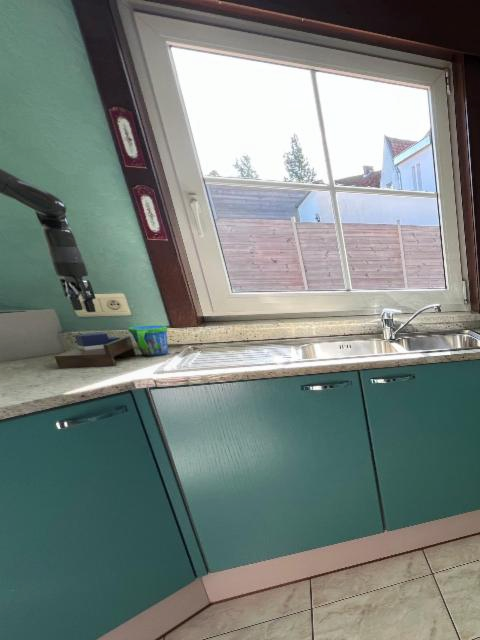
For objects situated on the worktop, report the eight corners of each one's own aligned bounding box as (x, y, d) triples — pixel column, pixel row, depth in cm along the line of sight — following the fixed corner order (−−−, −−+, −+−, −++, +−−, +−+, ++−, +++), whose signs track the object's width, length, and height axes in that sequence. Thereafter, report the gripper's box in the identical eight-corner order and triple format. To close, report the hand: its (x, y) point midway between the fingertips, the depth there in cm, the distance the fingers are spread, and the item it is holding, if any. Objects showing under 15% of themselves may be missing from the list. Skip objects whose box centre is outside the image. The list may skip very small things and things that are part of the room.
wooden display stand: (58, 368, 160) (50, 346, 157) (86, 357, 177) (79, 337, 174) (114, 365, 166) (107, 345, 163) (136, 355, 182) (130, 336, 180)
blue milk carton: (85, 350, 168) (80, 336, 167) (78, 349, 170) (73, 335, 168) (124, 345, 178) (120, 332, 176) (118, 344, 180) (113, 331, 178)
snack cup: (161, 358, 179) (152, 329, 175) (126, 358, 176) (117, 330, 173) (182, 350, 193) (175, 324, 189) (151, 351, 190) (142, 324, 187)
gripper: (41, 260, 162) (59, 310, 168) (63, 261, 157) (81, 313, 163) (72, 260, 169) (88, 309, 175) (93, 261, 163) (109, 311, 169)
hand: (84, 311), depth 169 cm, fingers open, 8 cm apart
